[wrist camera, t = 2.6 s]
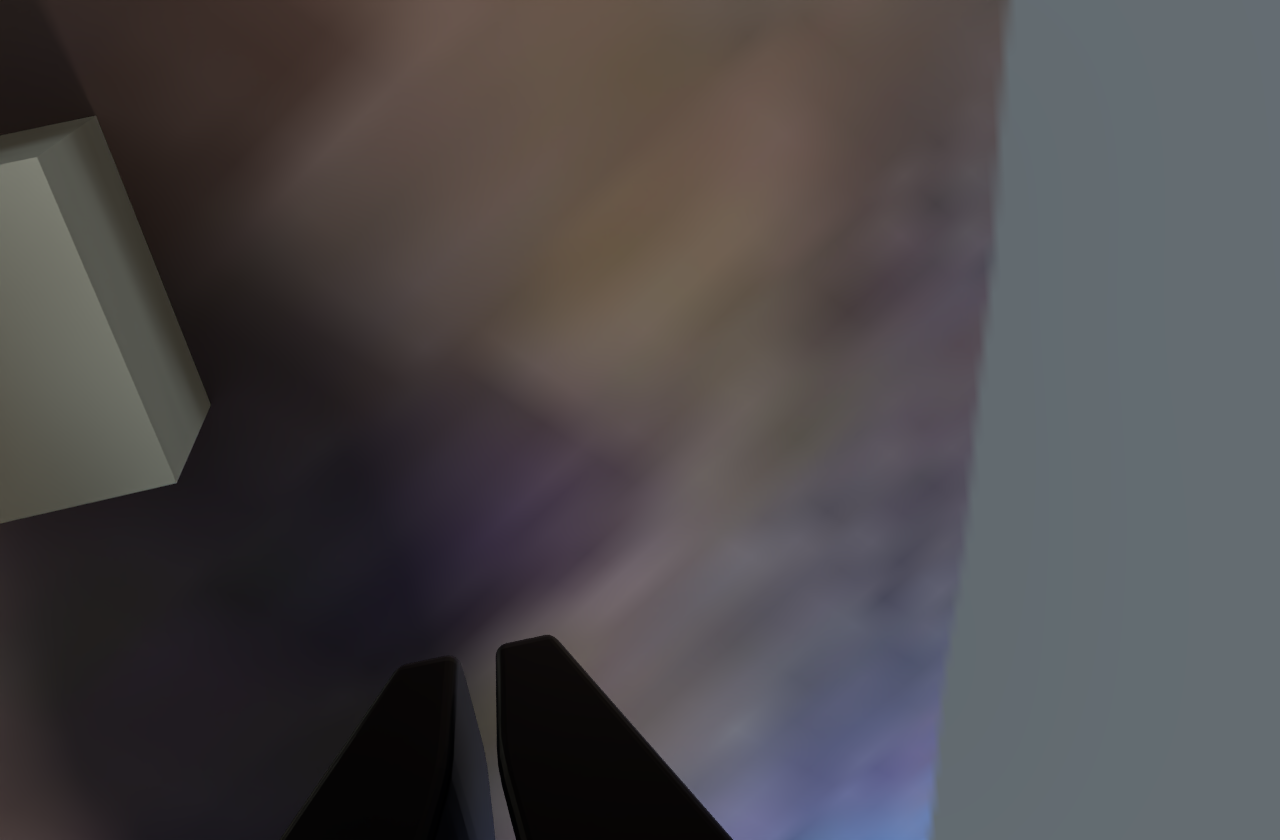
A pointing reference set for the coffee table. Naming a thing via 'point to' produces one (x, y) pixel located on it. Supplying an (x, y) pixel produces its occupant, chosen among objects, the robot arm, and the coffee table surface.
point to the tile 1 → (83, 333)
